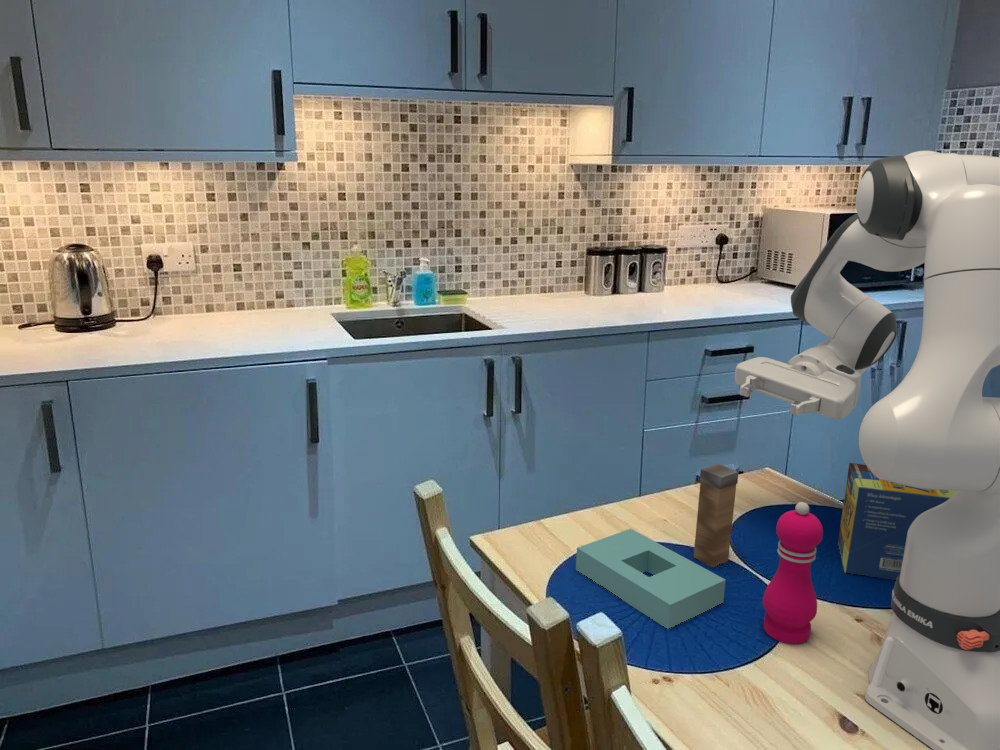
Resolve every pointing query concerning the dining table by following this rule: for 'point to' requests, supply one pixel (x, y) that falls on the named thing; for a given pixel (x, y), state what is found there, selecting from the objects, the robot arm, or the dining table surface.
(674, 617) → the post foot
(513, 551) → the dining table surface
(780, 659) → the dining table surface
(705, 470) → the peg
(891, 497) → the protein box
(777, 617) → the pepper mill
